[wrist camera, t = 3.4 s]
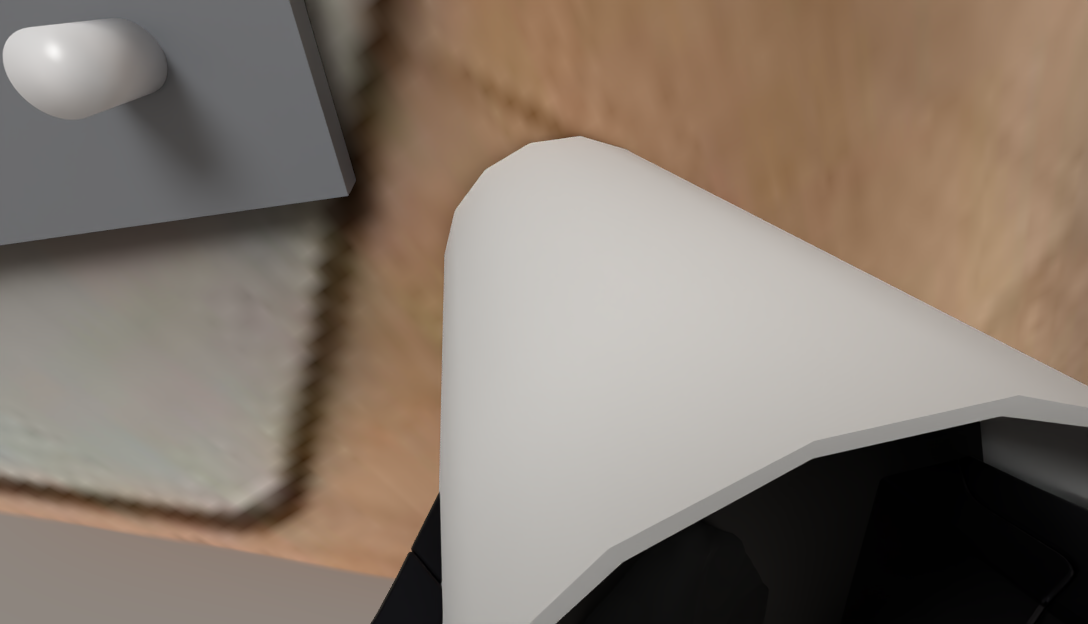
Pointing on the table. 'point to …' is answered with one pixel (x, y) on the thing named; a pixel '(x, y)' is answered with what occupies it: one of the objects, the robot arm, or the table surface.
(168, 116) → the pin tray
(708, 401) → the white cup
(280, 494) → the table surface
